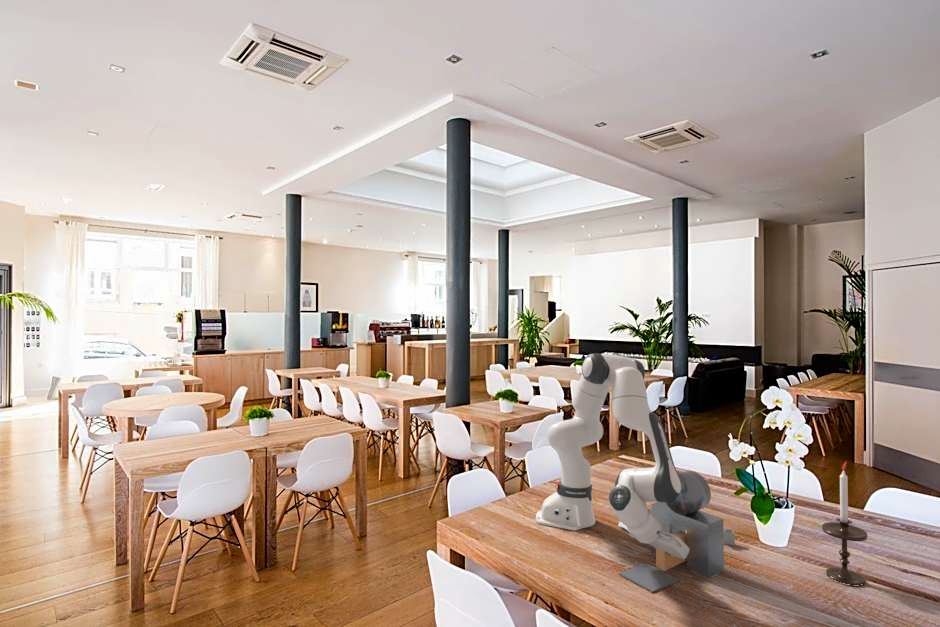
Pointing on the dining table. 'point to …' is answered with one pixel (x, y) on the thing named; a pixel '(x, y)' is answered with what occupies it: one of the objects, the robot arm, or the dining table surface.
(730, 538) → the lighter
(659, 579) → the mat
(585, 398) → the robot arm
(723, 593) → the dining table surface
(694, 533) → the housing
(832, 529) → the candlestick
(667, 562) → the plug
